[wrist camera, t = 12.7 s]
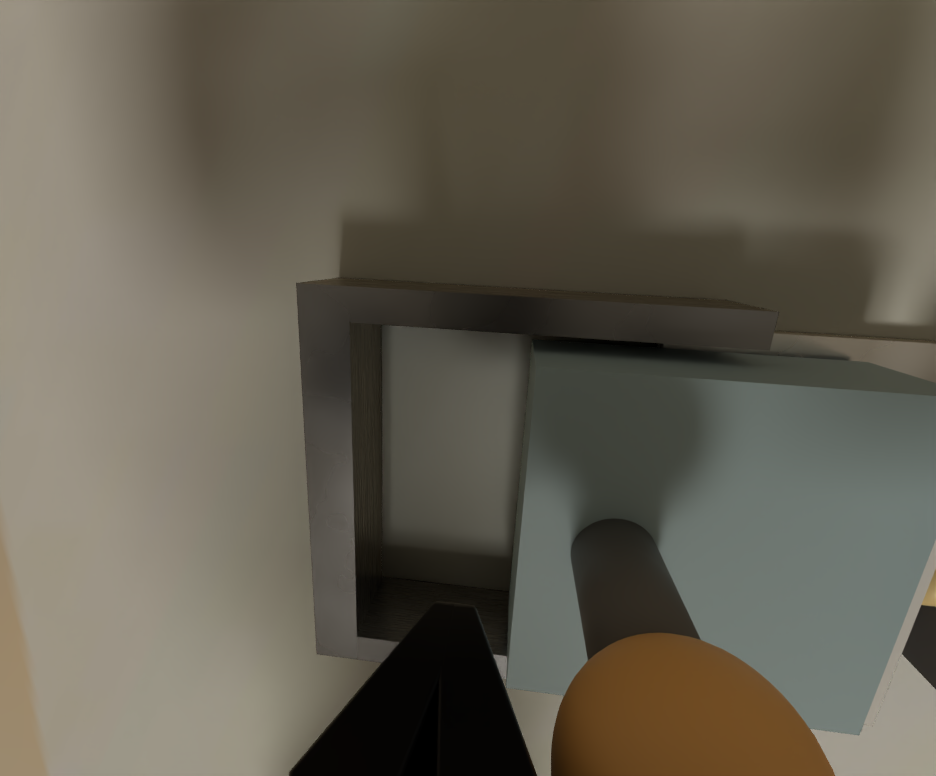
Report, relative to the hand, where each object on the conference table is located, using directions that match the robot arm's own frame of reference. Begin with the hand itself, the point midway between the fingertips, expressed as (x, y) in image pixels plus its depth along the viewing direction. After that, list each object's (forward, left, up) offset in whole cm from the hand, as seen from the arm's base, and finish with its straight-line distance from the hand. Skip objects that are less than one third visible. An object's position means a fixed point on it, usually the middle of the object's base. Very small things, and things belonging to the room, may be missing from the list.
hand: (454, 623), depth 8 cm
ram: (0, -5, -5) cm, 7 cm away
